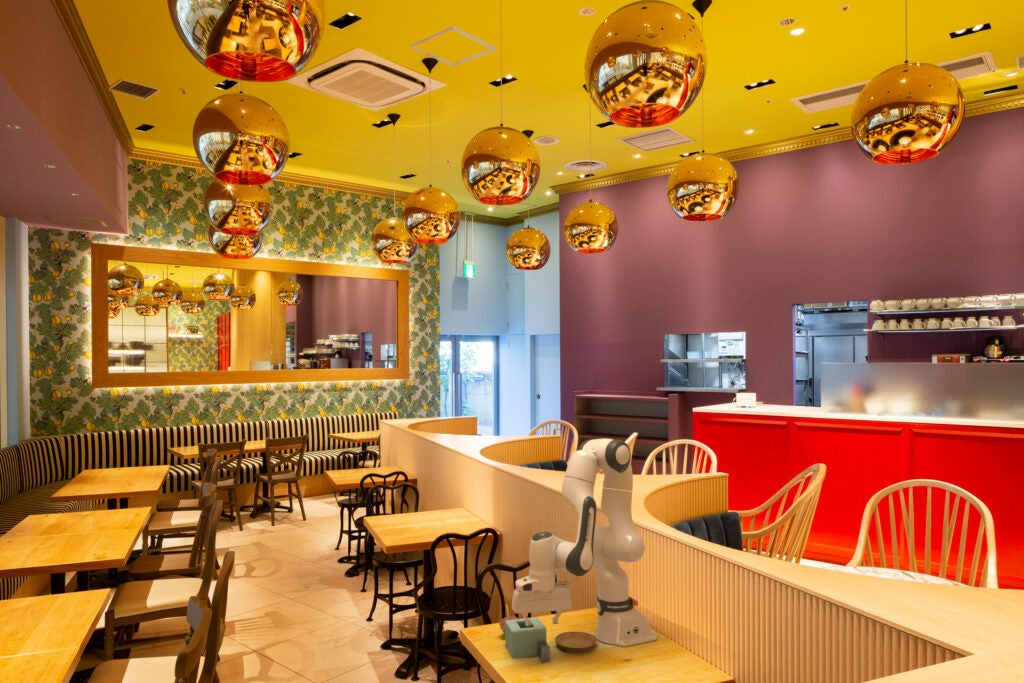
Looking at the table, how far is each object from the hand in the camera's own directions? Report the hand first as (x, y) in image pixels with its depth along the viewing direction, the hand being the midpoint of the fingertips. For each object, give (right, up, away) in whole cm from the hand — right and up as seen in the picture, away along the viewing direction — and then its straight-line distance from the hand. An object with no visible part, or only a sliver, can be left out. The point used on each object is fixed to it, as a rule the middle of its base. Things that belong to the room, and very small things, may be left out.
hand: (541, 624), depth 225 cm
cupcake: (-10, -13, +20) cm, 26 cm away
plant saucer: (+13, -13, +11) cm, 21 cm away
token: (+1, -12, 0) cm, 12 cm away
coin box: (-5, -12, +8) cm, 15 cm away
